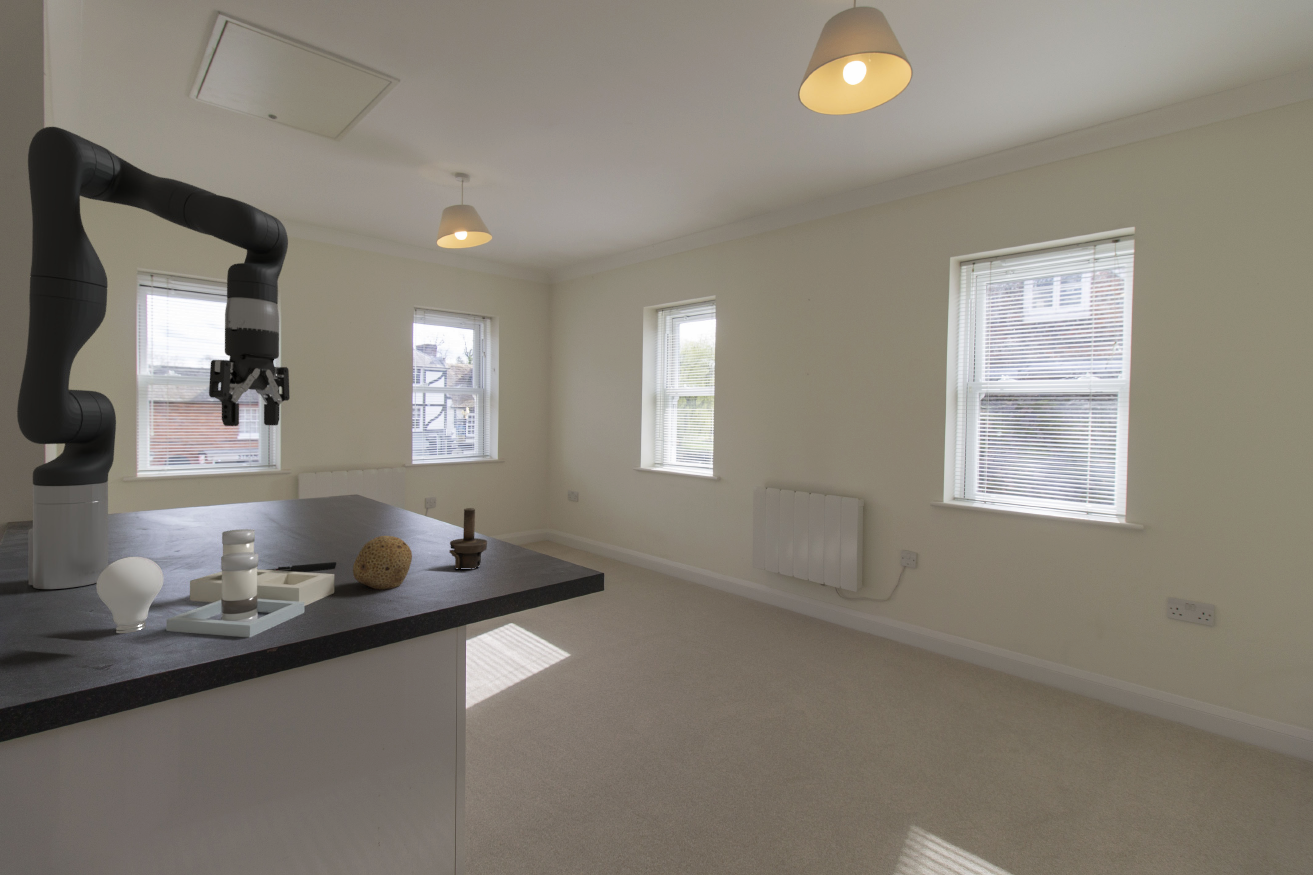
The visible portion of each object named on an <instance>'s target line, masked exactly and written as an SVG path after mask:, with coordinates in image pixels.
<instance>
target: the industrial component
mask: <svg viewBox="0 0 1313 875" xmlns="http://www.w3.org/2000/svg"><path fill="white" fill-rule="evenodd" d="M475 524H476V508H475V507H474V508H473V507H469V508H468V507H467V508H464V509H463V538H457V539H453V540H451V541H449V545H450V549H449V552H448V553H449V554H451V556H452V557H454V558H455V560H454V561H455V562H454V569H455V568H458V569H461V568H475V567H478V566H479V565H480V566H481V563H482V553H483V552H484V551H486V550H487V546H488V540H487V539H483V538H478V537H475V532H476V531H475V529H476V528H475V526H476V525H475Z"/></svg>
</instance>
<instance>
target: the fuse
mask: <svg viewBox="0 0 1313 875" xmlns="http://www.w3.org/2000/svg"><path fill="white" fill-rule="evenodd" d="M255 534H256V532H255V529H251V528H250V529H247V528H245V529H244V528H243V529H241V528H239V529H231V530H226V531H223V532H221V544H222V556H224V555H228V554H233V553H242V552H254V551H255V539H256V538H255V537H256V535H255ZM254 553H255V552H254Z"/></svg>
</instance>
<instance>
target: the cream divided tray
mask: <svg viewBox="0 0 1313 875" xmlns="http://www.w3.org/2000/svg"><path fill="white" fill-rule="evenodd" d="M334 593H335V573H322V572H321V573H319V572H291V571H275V570H267V569H258V568H257V599H268V600H283V601H297V602H304V607H305V606H308V605H310V604H312V603H315V602H317V601H319V600H321V599H323V598H326V597H328V596H331V595H332V594H334ZM221 598H222V570H221V571H218V572H215V573H211V574H209V575H204V576H201V577H198V578H194V579H191V580H189V601H190V602H203V603H214V602H216V601H219V600H221Z"/></svg>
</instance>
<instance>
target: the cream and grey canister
mask: <svg viewBox="0 0 1313 875" xmlns="http://www.w3.org/2000/svg"><path fill="white" fill-rule="evenodd" d="M220 561H221V562H220V570H221V571H222V598H221V612H222V613H221V617H220V620H224V621H237V622H251V621H254V620H256V619H258V618H259V613H258V612H257V569H258V567H259V553H257V552H242V553H233V554H228V555H224V556H223V555H222V556H221V558H220Z"/></svg>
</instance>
